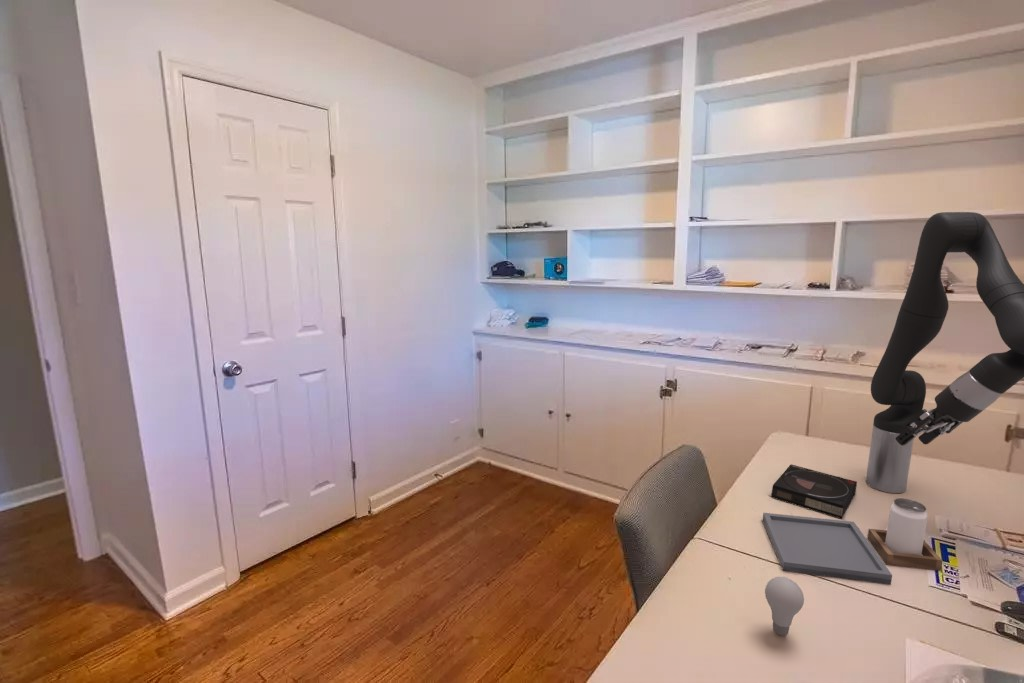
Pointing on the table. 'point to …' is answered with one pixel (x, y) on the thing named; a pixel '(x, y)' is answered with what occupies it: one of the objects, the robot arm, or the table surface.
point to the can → (906, 527)
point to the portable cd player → (815, 490)
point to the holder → (905, 560)
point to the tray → (824, 548)
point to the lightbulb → (783, 602)
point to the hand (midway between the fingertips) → (910, 441)
